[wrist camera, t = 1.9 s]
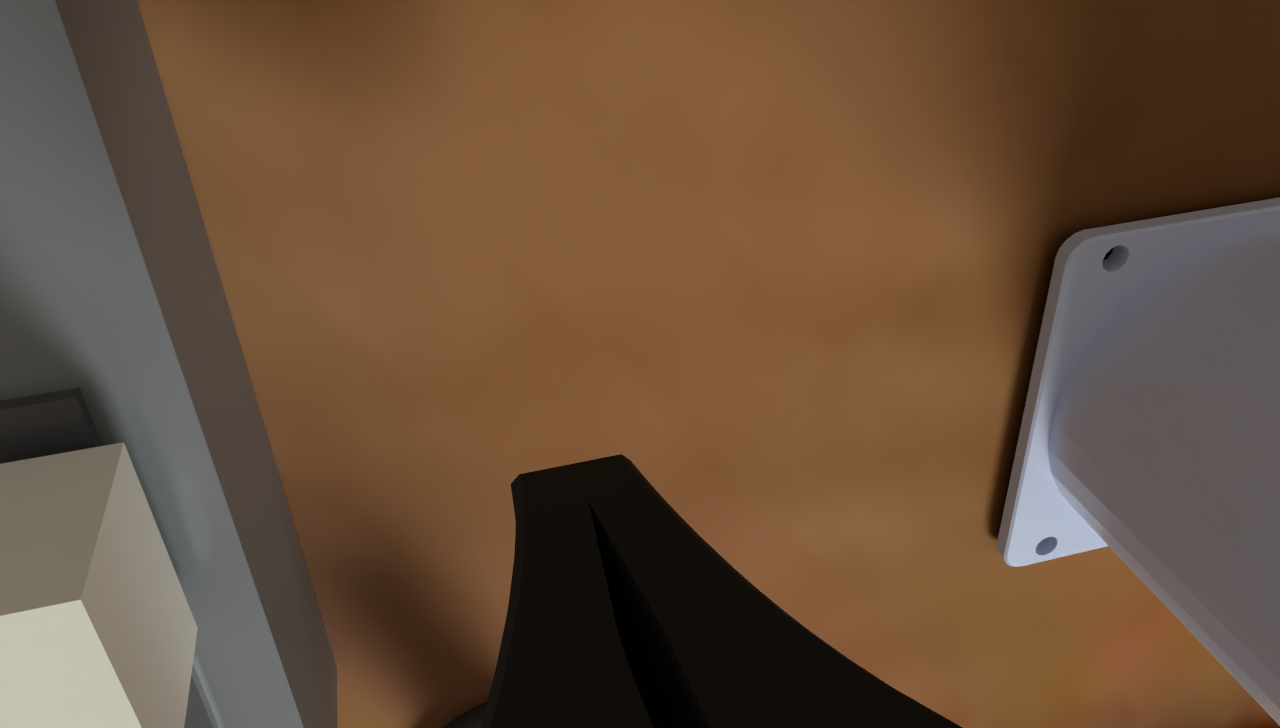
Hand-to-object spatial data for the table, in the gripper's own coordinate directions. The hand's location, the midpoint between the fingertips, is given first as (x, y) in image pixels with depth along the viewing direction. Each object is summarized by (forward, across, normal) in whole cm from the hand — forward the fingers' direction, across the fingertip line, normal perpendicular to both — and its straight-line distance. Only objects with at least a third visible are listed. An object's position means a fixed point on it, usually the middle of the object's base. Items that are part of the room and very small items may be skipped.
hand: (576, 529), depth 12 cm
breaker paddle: (+1, +6, 0) cm, 6 cm away
